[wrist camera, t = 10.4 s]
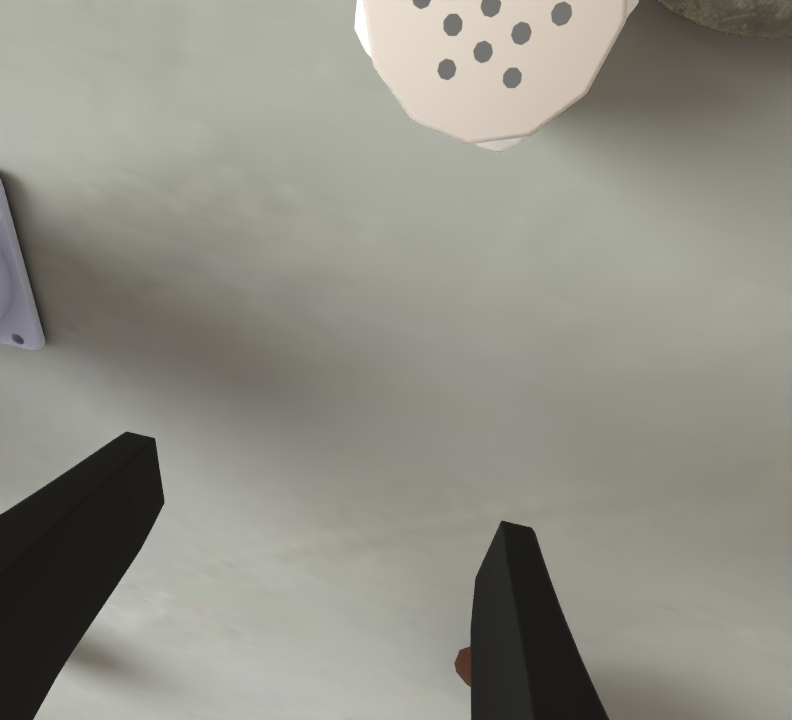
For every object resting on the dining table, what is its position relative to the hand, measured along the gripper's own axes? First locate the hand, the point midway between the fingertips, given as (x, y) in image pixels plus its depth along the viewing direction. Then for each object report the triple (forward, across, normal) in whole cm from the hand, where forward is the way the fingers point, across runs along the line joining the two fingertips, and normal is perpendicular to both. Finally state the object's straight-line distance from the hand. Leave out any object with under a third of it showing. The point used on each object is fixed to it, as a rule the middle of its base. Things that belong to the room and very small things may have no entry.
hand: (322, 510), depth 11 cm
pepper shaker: (+11, -1, -9) cm, 14 cm away
